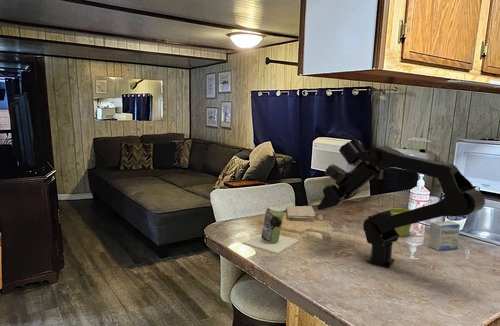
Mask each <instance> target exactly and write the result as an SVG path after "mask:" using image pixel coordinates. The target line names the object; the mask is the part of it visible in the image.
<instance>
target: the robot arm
mask: <svg viewBox="0 0 500 326" xmlns="http://www.w3.org/2000/svg"><path fill="white" fill-rule="evenodd" d="M338 151H339V153H340V154H341V156H342V157H343V158H344V159H345V161H346V163H347V164H348V165H349V166H354V168H353V169H352V170H350V171H349V172H348V171H345V169H343V168H341V167H340V166H338V165H335V164H331V165H328V167H327V168H325V173H324V175H325V176H326V177H330V178H331V179H332V180H334V181H335V182H334V183H335V184H328V185H326V186H325V187H324V188H323V189H322V194H323V198H322V199H321V201H320V203H319V204H318V205H317V208H316V209H317V210H318V211H321V210H325V209H329V208H332V207H337V206H339V205H340V204H341V203H343V202H344V201H346V200H349V199H351V198H354V197H355V196H357V195H358V194H359V193H360V189H361V188H364V186H365V184H367V183H368V182H369V181H370V180H372V179H374V178H375V179H376V180H383V179H384V171H385V170H383V169H379V168H387V169H388V168H389V169H390V168H391V169H392V168H393V169H394V168H395V169H400V170H405V171H407V172H411V173H416V174H421V175H422V176H423V175H424V176H428V177H432V178H435V179H437V180H438V182H439V184H440V186H441V189H442V193H443V195H444V198H442V199H440V200H439V201H436V202H433V203H431V204H427V205H424V206H420V207H416V208H414V209H409V210H410V211H406V212H403V213H399V214H391V212H390V210H388V209H387V210H388V211H387V210H386V211H380V212H379V213H375V214H371V215H368V216H367V219H364V221H363V224H362V225H363V226H362V227H363V231H364V234H365V238H366V242H367V243H368V244H370V245H371V248H370V249H371V251H370V257H368V259H366V262H367V263H369V264H373V265H377V266H381V267H384V268H391V266H392V265H393V263H394V262H395V261H396V260H395V258H392V255H393V243H394V242H397V241H398V240H399V238H400V236H399V234H398V233H397V232H396V230H395V229H397V228H398V227H401V226H405V225H409V224H411V225H412V224H416V223H420V222H425V221H428V220H432V219H436V218H439V217H463V216H468V215H471V214H474V213H476V212H478V211H481V210H482V209H484V206H485V204H486V198H485V196H484V194H483V193H482V192H481V191H480V190H477V189H476V187H475V186H474V185H473V184H472V182H471V181H469V179H467V177H466V176H465V175H463V174H462V173H461V172H460V170H459V168H458V167H457V166H456V165H455V164H453V163H450V162H449V163H448V162H447V163H445V162H440V161H437V160H436V161H435V160H431V159H426V158H421V157H417V156H413V155H409V154H405V153H403V152H401V151H399V150H398V149H395V148H392V147H391V146H389V145H388V146H373V147H371V148H369V149H368V150H366V149H365V148H364V147H363V146H362V144H361V143H360V140H358V138H352V139H351V140H350V141H348V142H346V143H345V144H343V145H341V147H340V148H339V150H338ZM336 185H337V186H336Z"/></svg>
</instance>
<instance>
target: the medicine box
mask: <svg viewBox="0 0 500 326" xmlns="http://www.w3.org/2000/svg"><path fill="white" fill-rule="evenodd" d="M460 226H461V224H460V223H458V222H455V221H451V220H445V221H434V222H432V221H431V222H430V226H429V237H428V238H429V239H428V247H429V248H432V249H434V250H436V251H438V252H441V251H442V252H443V251H451V250H457V249H458V246H459V238H460V237H459V236H460V230H461V229H460V228H461V227H460Z"/></svg>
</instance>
